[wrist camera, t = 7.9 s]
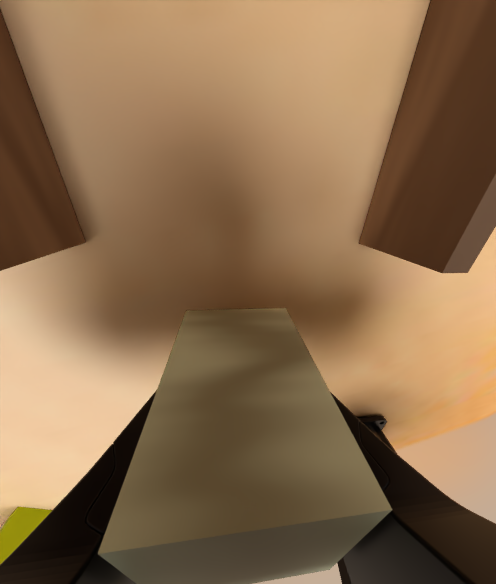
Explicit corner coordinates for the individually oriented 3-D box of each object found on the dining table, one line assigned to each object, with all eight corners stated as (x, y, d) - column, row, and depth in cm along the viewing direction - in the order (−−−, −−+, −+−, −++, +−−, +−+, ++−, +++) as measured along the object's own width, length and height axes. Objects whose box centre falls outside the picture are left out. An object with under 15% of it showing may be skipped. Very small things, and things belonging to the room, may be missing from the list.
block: (285, 307, 10) (392, 510, 3) (276, 374, 12) (329, 569, 6) (186, 310, 9) (97, 554, 3) (195, 380, 11) (158, 600, 5)
